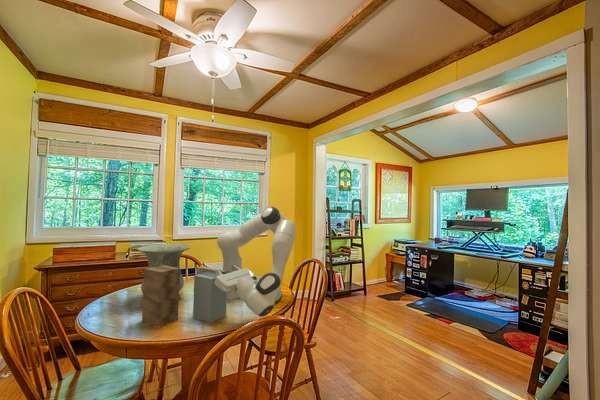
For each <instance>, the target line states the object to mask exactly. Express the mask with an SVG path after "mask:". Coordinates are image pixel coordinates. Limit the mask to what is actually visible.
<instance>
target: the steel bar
mask: <svg viewBox="0 0 600 400" xmlns="http://www.w3.org/2000/svg"><path fill="white" fill-rule="evenodd" d="M217 269H218V268H214V267H208V266H204V265H200V266H197V267H196V274H204V275H208V276H213V277H217V276H218V274H217V273H216V270H217ZM220 270H221V274H227V273H231V272H230V271H225V270H223V269H220Z"/></svg>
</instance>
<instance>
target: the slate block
mask: <svg viewBox="0 0 600 400" xmlns="http://www.w3.org/2000/svg"><path fill="white" fill-rule="evenodd" d="M193 278H194V281H193V302H192V303H193V305H192V307H193V309H192V310H193V311H192V317H193V318H195V319H198V320H201V321H204V322H207V323H211V324H212V322H216V321H218V320H219V319H222V318H224V317H226V316H227V304H228V303H227V302H228V301H227V300H228V299H227V292H224V291H222V290H221V289H220V288H218V287H217V286H216V285H215V279H216V277H213V276H208V275H204V274H199V273H197V274H194V276H193Z"/></svg>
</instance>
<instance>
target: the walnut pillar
mask: <svg viewBox="0 0 600 400" xmlns="http://www.w3.org/2000/svg"><path fill="white" fill-rule="evenodd" d="M180 270H181V267H180V268H176V267H171V266H166V265H162V266H157V267H151V268H148V267H146V268H144V269H143V279H144V284H143V293H142V307H141V308H142V313H141V322H143V323H145V322H146V323H145V324H148V325H150V324H151V325H150V326H152V325H153V327H155V326H156V327H155V328H157V327H158V328H160V327H162V325H163V326H165V325H164V324H166V325H168V324H170V322H171V323H173V322H176V321H178V320H179V302H180V300H179V295H180V291H179V278H180ZM175 320H176V321H175ZM172 321H173V322H172ZM167 323H168V324H167ZM159 326H160V327H159Z"/></svg>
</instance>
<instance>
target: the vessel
mask: <svg viewBox="0 0 600 400" xmlns="http://www.w3.org/2000/svg"><path fill="white" fill-rule="evenodd" d="M190 249H191V245H187V244H181V243H164V244H163V243H160V244H157V243H156V244H150V245H142V246H139V247H137V248H136V250H137V251H138V252H140V253H143V254H144V255H145V256H146V259H147V263H148V264H147V268H151V267H157V266H162V265H166V266H171V267H176V268H180V278H179V292H180V291H181V290H182V289H183V288H184V284H185V280H184V276H183V274H182V271H181V266H180V262H181V256H182V254H183V253H184V252H185V251H188V250H190ZM143 284H144V278H143V279H142V282H141V287H140V290H141V293H142V294H143ZM181 298H182V297H181V295H180V294H179V301H180V299H181Z"/></svg>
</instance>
